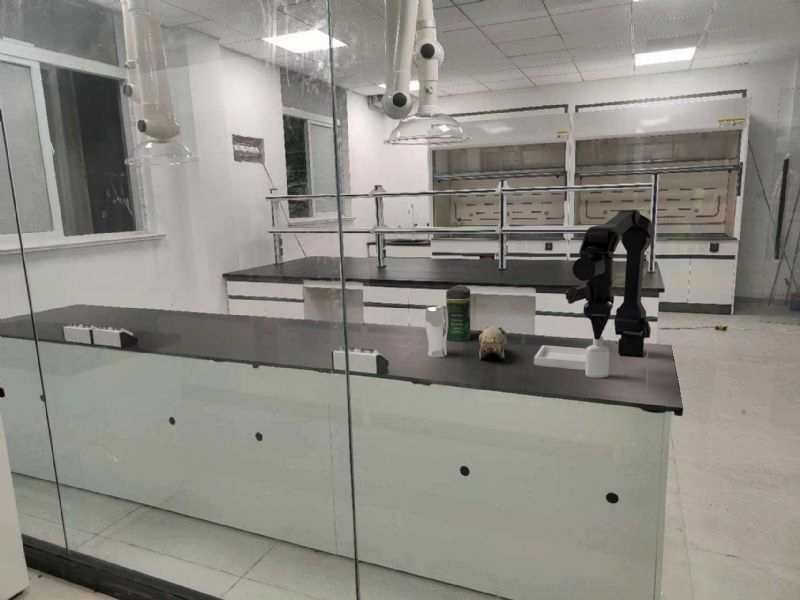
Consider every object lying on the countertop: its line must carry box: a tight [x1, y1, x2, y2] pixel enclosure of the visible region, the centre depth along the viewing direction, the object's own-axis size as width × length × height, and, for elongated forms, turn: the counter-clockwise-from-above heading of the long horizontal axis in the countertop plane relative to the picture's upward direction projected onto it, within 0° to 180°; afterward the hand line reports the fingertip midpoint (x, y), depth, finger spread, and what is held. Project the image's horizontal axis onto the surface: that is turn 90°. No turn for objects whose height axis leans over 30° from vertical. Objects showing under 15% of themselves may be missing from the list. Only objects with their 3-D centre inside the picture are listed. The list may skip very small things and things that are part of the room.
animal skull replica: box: [478, 325, 508, 361], centre depth 161 cm, size 8×17×10 cm, turn 162°
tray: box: [533, 344, 587, 371], centre depth 156 cm, size 14×14×2 cm
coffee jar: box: [445, 285, 471, 343], centre depth 182 cm, size 10×8×19 cm
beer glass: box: [424, 305, 448, 358], centre depth 163 cm, size 7×7×15 cm
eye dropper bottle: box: [584, 335, 610, 379], centre depth 141 cm, size 4×6×12 cm
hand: (598, 335), depth 141 cm, fingers open, 9 cm apart
